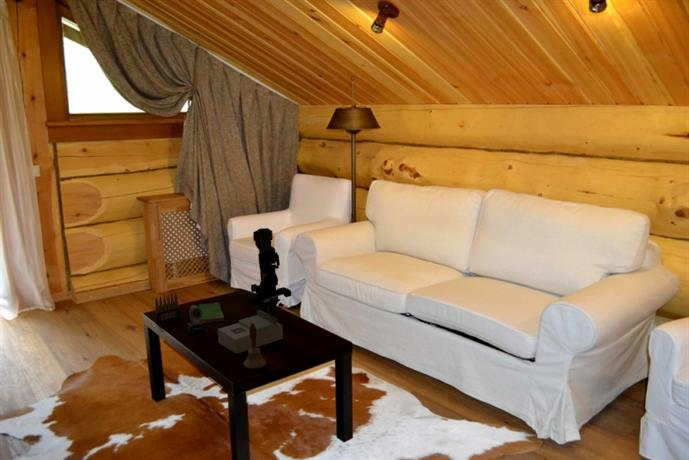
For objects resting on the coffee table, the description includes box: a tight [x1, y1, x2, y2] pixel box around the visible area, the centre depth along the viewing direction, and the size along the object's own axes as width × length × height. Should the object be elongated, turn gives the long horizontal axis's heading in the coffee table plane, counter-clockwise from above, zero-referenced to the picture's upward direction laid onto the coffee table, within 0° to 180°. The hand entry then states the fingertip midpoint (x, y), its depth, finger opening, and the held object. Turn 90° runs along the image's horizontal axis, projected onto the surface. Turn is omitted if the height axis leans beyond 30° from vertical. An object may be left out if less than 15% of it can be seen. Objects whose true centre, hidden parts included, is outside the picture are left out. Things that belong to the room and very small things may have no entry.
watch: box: [186, 305, 205, 334], centre depth 245 cm, size 6×8×11 cm
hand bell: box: [243, 323, 267, 370], centre depth 214 cm, size 8×8×16 cm
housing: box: [217, 322, 284, 354], centre depth 235 cm, size 22×14×6 cm, turn 131°
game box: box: [198, 302, 225, 324], centre depth 265 cm, size 3×10×20 cm
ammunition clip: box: [154, 293, 181, 325], centre depth 257 cm, size 11×2×12 cm, turn 129°
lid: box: [238, 309, 279, 332], centre depth 236 cm, size 10×13×3 cm
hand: (270, 315), depth 240 cm, fingers closed
